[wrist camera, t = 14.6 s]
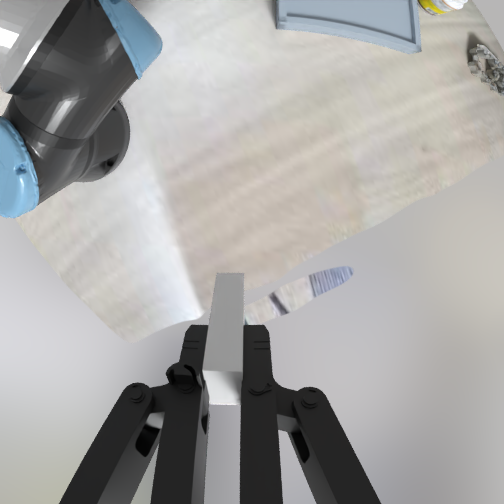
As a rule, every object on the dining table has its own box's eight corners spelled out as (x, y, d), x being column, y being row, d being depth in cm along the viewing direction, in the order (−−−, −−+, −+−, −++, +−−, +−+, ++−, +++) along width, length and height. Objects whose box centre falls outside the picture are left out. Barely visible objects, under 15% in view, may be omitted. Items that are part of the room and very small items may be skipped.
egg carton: (464, 69, 30) (477, 69, 26) (469, 41, 26) (482, 40, 23) (495, 98, 31) (508, 100, 28) (499, 71, 28) (512, 72, 24)
